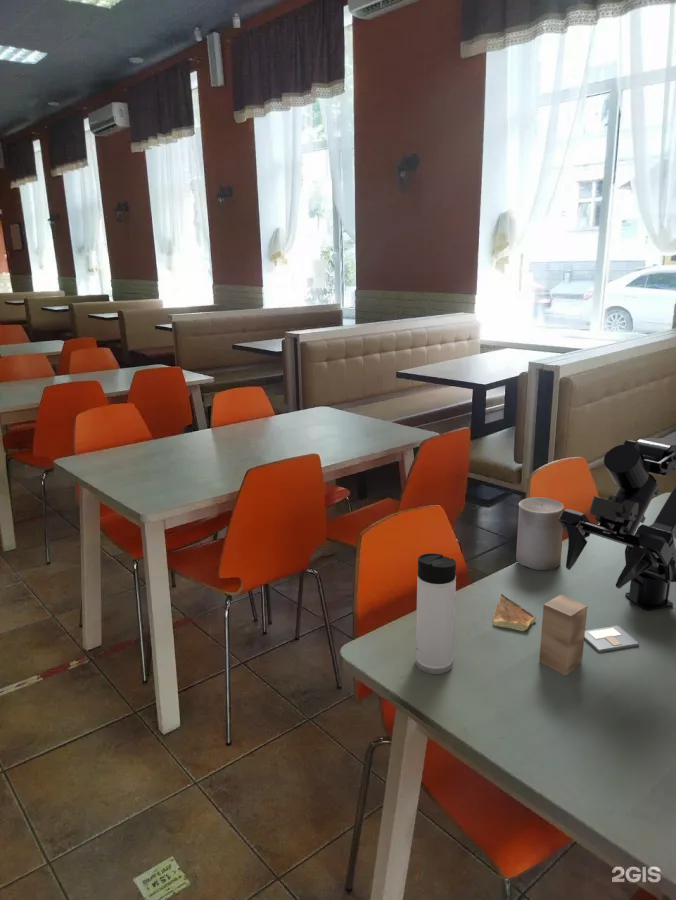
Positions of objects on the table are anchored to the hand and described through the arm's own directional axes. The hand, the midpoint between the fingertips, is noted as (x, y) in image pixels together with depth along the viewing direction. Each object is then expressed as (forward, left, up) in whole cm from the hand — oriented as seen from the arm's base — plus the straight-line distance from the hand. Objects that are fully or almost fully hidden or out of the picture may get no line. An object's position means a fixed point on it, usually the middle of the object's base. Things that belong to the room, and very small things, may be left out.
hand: (591, 577), depth 114 cm
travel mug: (+28, -2, -13) cm, 31 cm away
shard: (+9, -13, -14) cm, 21 cm away
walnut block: (+7, +3, -13) cm, 15 cm away
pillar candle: (-9, -33, -14) cm, 36 cm away
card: (-5, -1, -13) cm, 14 cm away
